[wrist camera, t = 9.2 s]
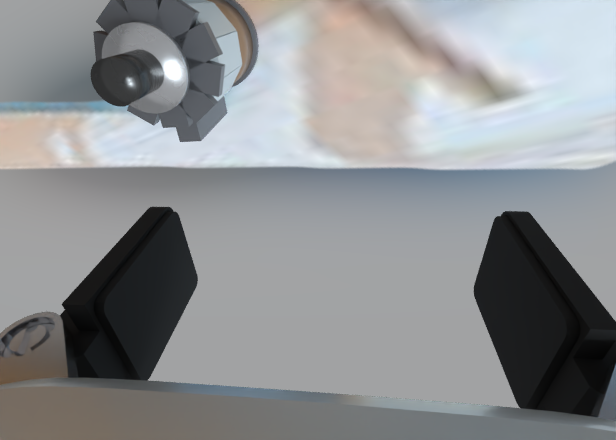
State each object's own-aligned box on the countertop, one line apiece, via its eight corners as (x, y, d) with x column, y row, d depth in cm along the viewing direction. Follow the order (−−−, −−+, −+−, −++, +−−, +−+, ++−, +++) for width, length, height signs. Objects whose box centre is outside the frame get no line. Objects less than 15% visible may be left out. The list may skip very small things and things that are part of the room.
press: (251, -13, 36) (205, -16, 23) (267, 101, 42) (237, 147, 30) (161, -5, 37) (71, -4, 24) (189, 106, 43) (129, 151, 31)
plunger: (213, 13, 30) (143, 23, 19) (227, 85, 33) (174, 128, 23) (148, 18, 31) (45, 31, 20) (168, 88, 34) (88, 133, 23)
